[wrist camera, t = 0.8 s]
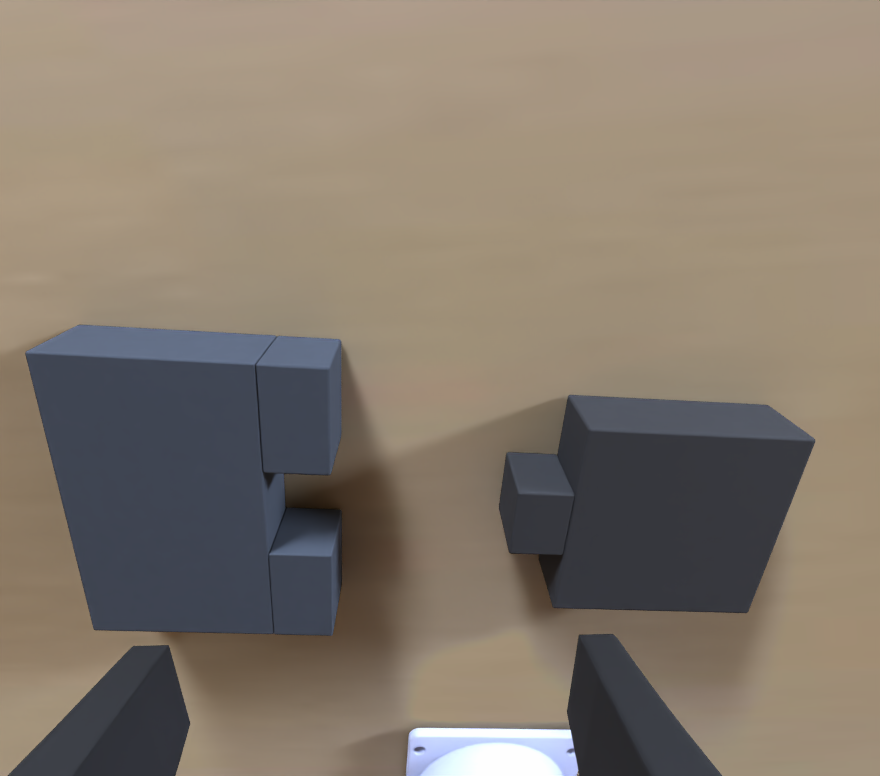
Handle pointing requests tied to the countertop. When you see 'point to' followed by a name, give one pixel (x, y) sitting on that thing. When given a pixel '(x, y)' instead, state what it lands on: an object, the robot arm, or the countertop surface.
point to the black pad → (655, 503)
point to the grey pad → (195, 475)
